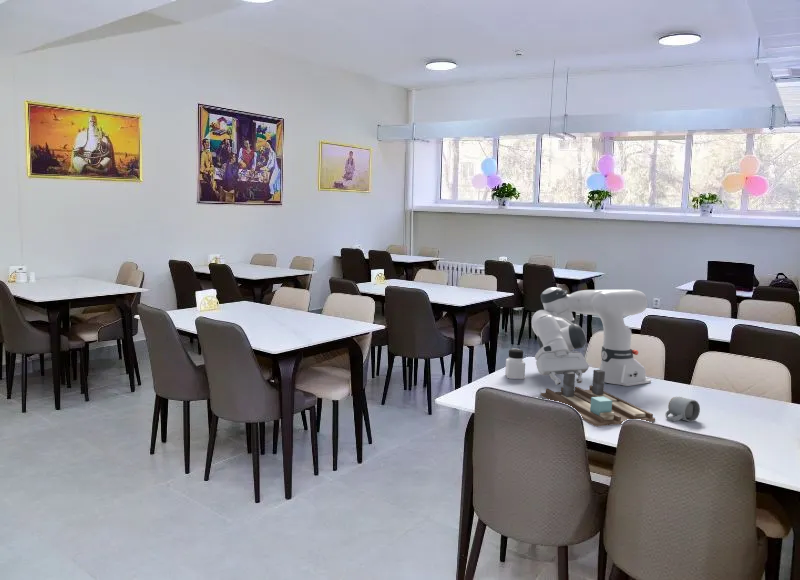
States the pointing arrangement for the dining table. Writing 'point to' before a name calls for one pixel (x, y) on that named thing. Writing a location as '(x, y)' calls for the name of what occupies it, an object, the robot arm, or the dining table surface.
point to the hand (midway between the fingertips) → (569, 383)
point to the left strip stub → (599, 384)
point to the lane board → (591, 417)
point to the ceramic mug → (683, 409)
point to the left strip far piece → (630, 409)
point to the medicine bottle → (515, 365)
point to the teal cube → (600, 405)
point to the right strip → (569, 394)
